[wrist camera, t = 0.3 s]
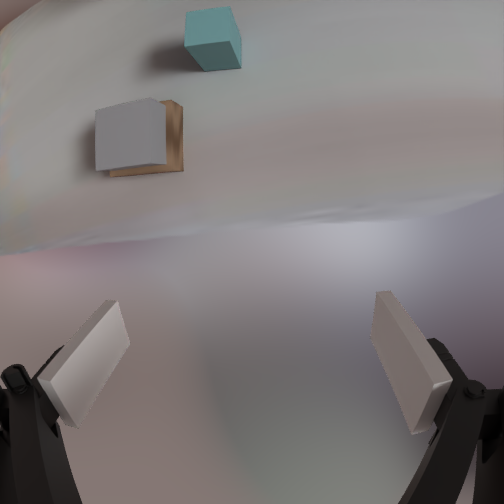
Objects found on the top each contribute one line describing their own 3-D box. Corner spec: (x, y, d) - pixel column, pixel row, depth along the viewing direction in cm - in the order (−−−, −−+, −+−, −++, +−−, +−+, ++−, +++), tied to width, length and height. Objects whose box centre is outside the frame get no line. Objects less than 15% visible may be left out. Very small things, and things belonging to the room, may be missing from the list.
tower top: (114, 115, 33) (95, 110, 29) (165, 105, 33) (150, 97, 28) (114, 170, 35) (95, 171, 31) (166, 164, 34) (151, 163, 30)
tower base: (125, 116, 38) (109, 111, 33) (183, 107, 37) (171, 99, 32) (126, 176, 40) (109, 177, 35) (183, 171, 39) (171, 170, 34)
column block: (205, 41, 34) (186, 12, 25) (241, 37, 33) (229, 6, 24) (204, 71, 35) (184, 46, 26) (241, 68, 34) (229, 40, 26)
